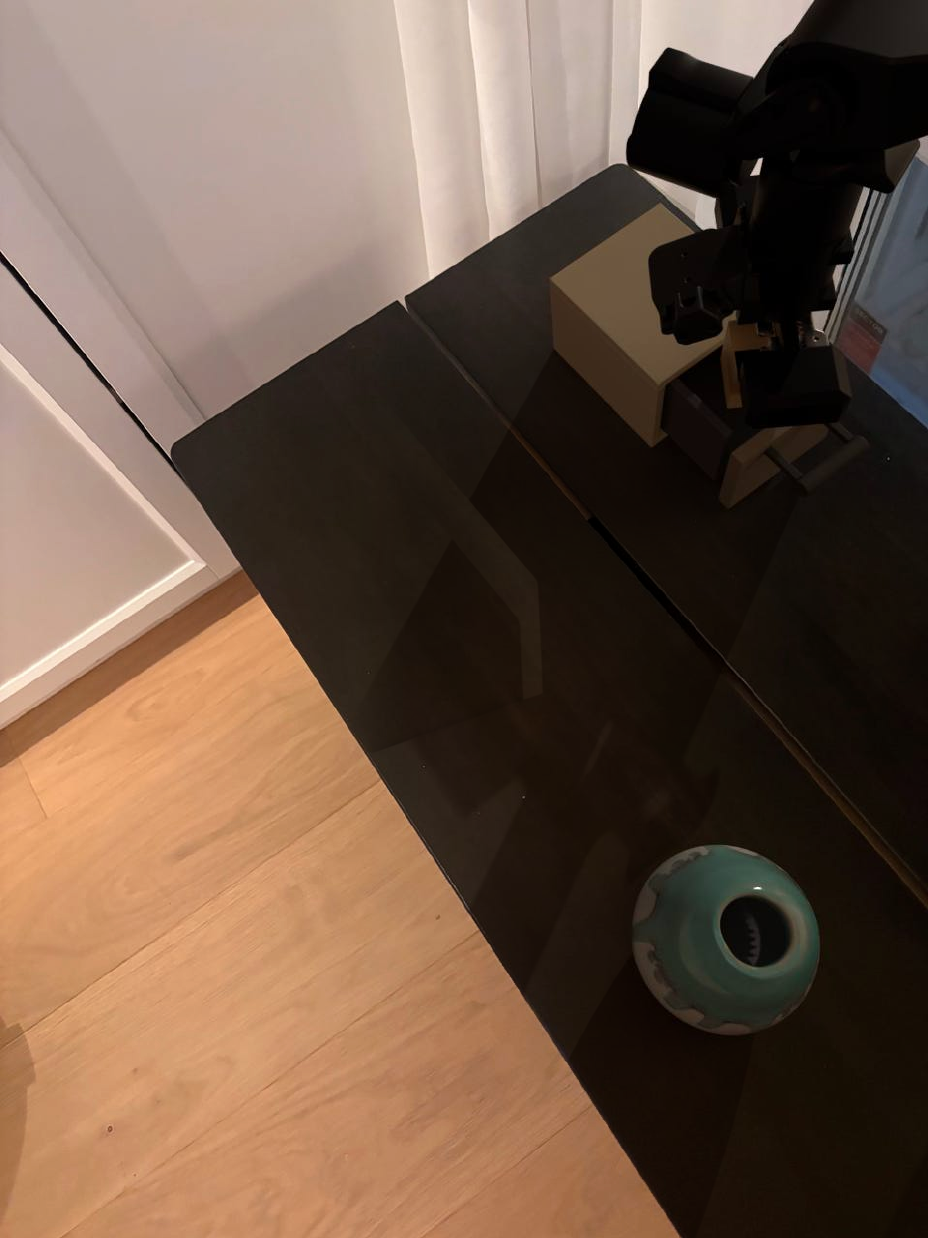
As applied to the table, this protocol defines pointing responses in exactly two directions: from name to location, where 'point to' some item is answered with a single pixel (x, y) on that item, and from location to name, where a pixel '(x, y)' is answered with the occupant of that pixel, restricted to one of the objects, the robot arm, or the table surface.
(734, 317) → the beige drawer cabinet
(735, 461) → the pull-out drawer box
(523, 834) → the table surface
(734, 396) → the block
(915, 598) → the table surface
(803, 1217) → the table surface
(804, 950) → the vase
